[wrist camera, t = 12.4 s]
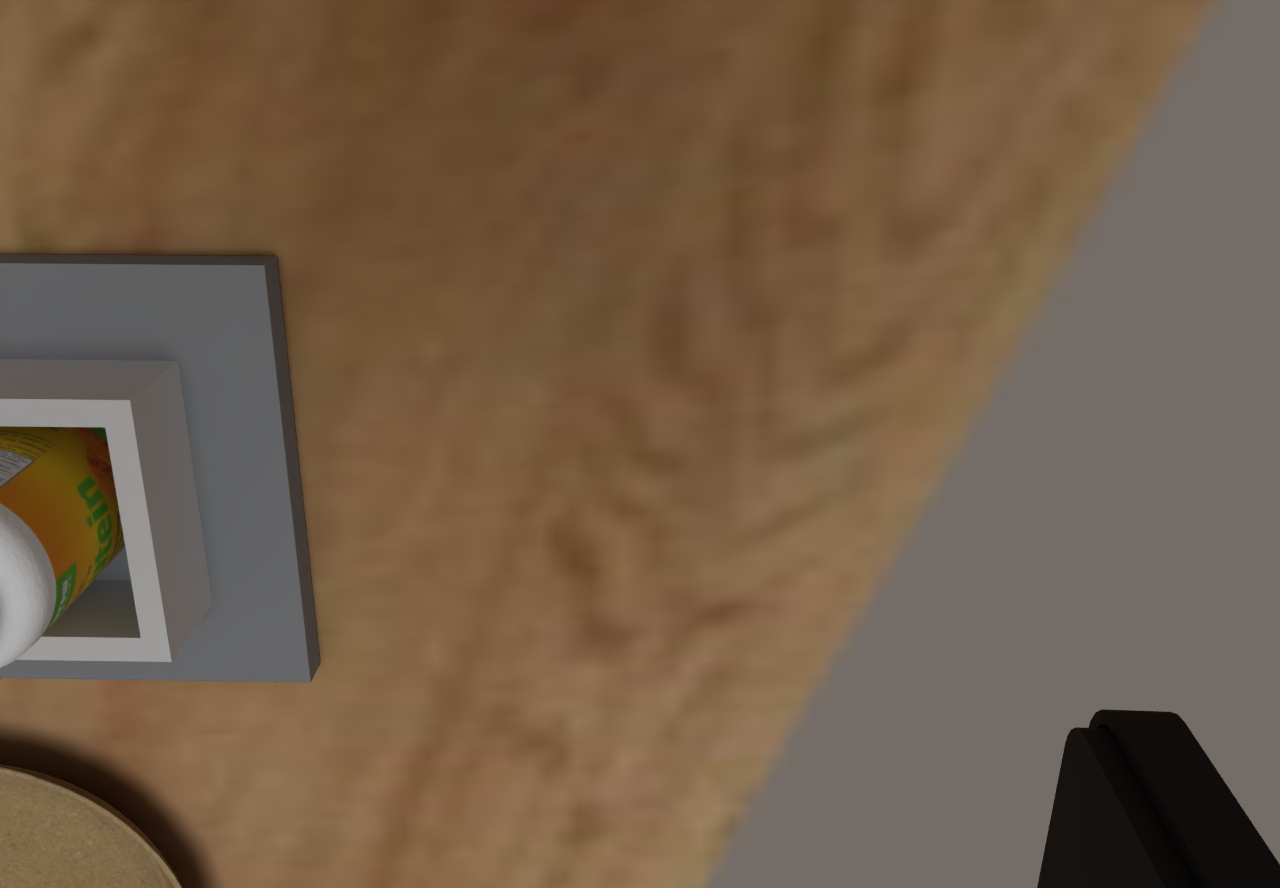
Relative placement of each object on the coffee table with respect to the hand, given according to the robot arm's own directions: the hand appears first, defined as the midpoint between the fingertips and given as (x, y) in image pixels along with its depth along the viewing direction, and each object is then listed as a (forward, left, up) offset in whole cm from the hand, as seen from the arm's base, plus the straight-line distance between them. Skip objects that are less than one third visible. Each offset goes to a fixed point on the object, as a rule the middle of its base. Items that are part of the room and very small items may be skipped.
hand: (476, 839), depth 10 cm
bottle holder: (+9, -17, -28) cm, 34 cm away
